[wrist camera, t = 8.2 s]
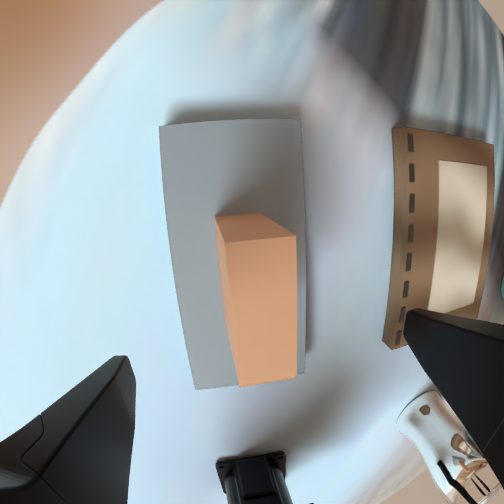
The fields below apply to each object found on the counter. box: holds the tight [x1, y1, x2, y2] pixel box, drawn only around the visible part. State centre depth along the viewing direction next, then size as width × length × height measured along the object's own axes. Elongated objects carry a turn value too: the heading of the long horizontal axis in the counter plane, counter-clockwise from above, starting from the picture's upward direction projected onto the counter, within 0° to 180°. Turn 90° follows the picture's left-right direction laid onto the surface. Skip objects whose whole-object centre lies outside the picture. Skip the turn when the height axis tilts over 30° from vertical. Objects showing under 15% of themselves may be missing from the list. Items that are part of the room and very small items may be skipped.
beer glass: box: [396, 391, 502, 504], centre depth 19 cm, size 7×7×15 cm
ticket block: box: [382, 127, 495, 350], centre depth 20 cm, size 16×11×2 cm
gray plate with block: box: [159, 118, 306, 390], centre depth 14 cm, size 16×7×8 cm, turn 4°
